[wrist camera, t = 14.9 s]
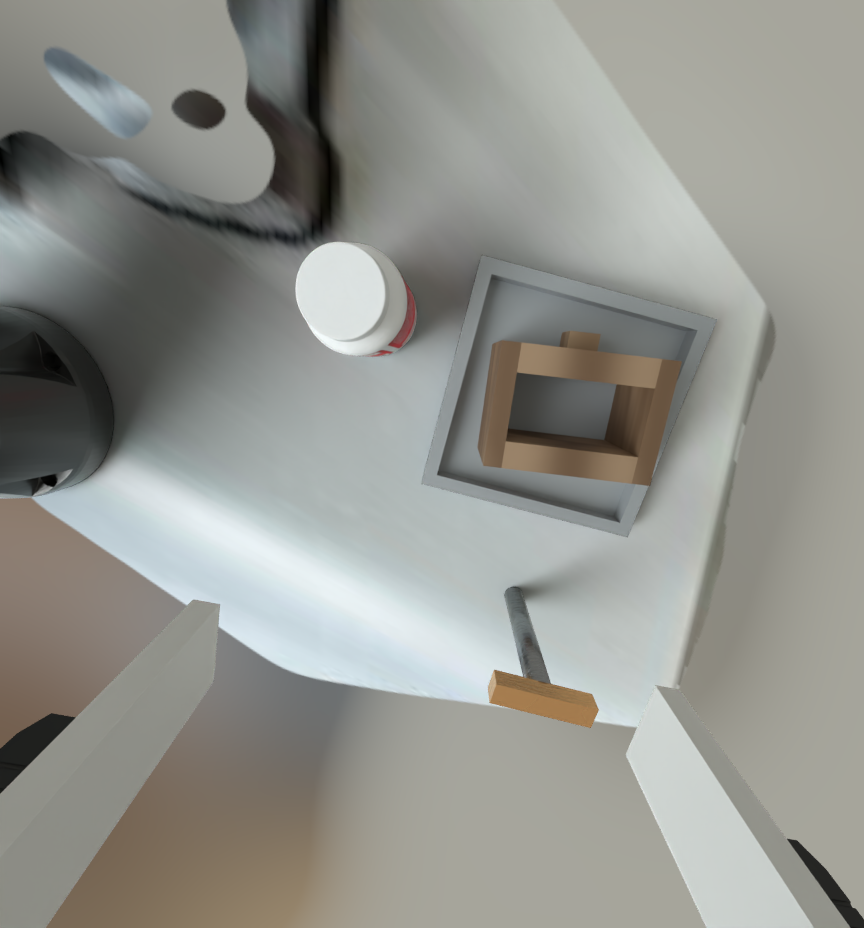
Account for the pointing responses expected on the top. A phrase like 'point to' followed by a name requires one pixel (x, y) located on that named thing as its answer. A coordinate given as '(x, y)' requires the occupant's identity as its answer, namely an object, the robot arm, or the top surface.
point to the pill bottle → (355, 300)
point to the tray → (553, 388)
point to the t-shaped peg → (536, 676)
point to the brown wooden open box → (612, 459)
